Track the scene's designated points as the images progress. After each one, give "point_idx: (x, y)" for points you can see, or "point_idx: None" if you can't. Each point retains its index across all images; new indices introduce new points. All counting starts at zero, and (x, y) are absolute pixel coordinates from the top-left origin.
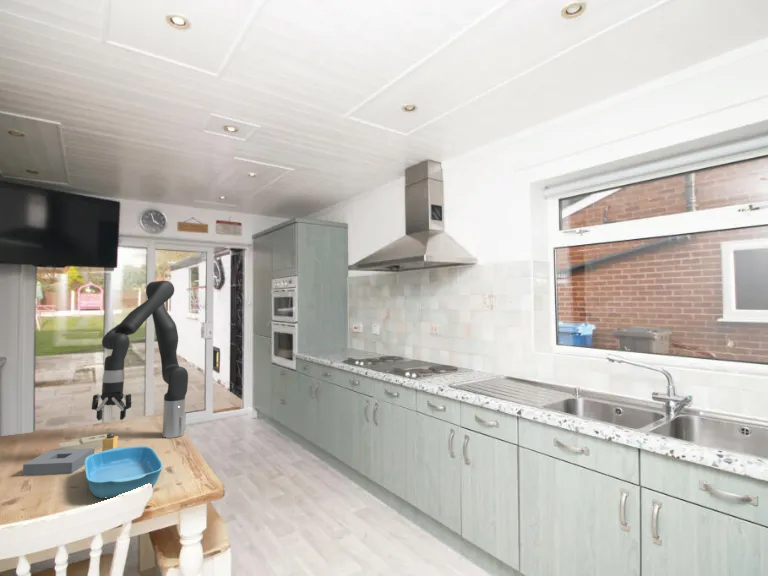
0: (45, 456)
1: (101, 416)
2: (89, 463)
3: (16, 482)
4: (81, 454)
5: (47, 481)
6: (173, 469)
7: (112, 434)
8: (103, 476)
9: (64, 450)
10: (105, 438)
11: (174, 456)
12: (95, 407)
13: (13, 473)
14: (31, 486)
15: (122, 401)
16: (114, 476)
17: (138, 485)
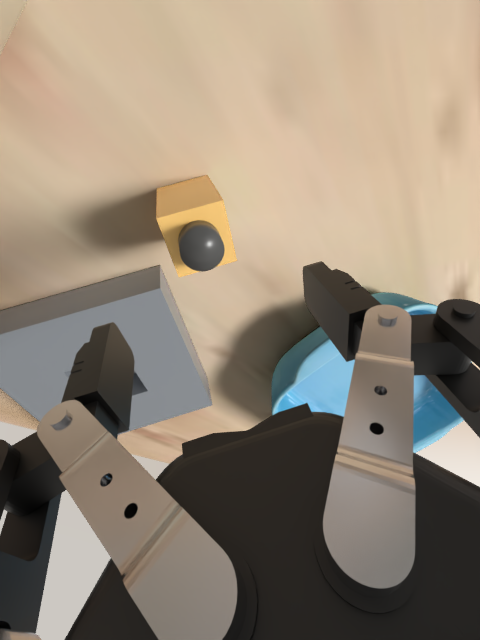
0: (50, 398)
1: (115, 349)
2: (280, 406)
3: (117, 437)
4: (174, 355)
5: (189, 417)
6: (470, 298)
7: (222, 257)
8: (317, 383)
9: (39, 339)
10: (181, 261)
11: (476, 188)
12: (50, 491)
13: (24, 416)
14: (179, 437)
15: (411, 399)
16: (342, 375)
17: (421, 414)
